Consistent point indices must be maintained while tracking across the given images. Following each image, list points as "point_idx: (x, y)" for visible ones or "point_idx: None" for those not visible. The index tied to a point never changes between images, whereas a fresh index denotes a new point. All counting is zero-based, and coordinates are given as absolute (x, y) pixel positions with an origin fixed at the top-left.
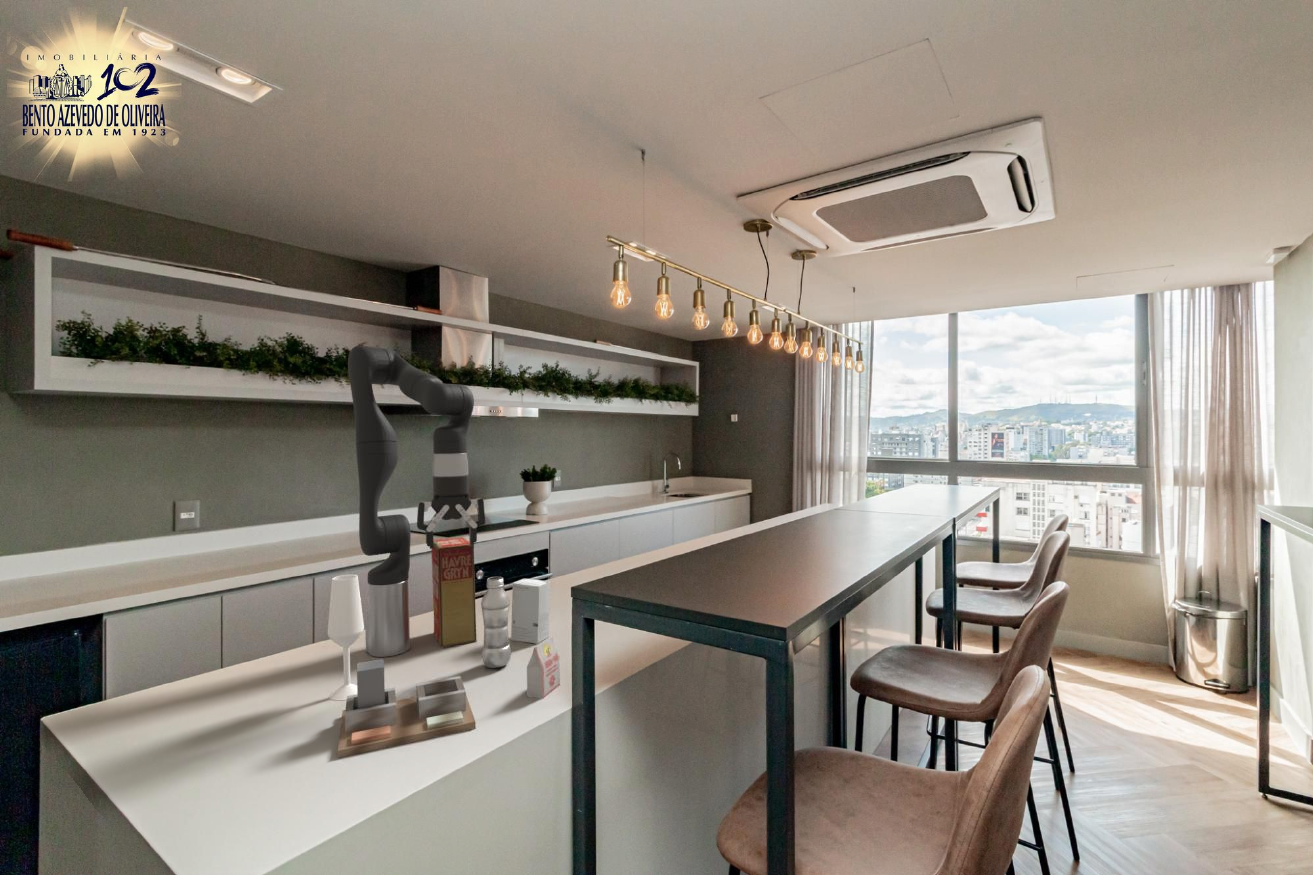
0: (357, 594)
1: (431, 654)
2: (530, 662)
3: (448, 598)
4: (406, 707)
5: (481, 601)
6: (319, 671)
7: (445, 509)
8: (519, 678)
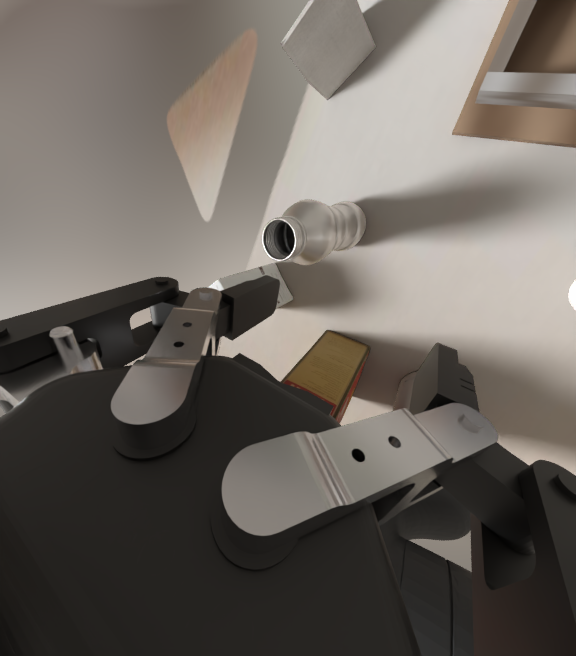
0: None
1: (393, 336)
2: (354, 3)
3: (337, 379)
4: None
5: (329, 246)
6: (567, 412)
7: (287, 465)
8: (347, 147)
